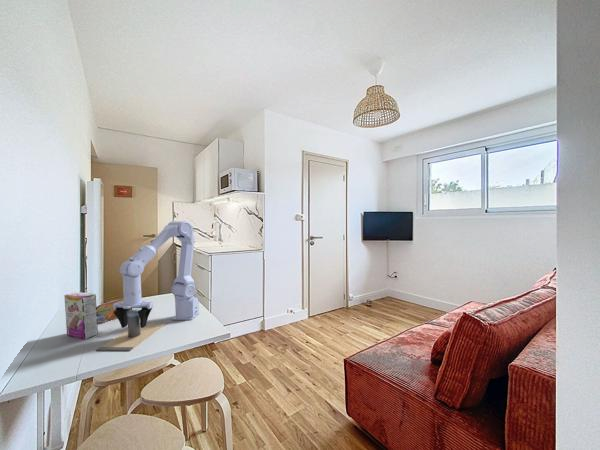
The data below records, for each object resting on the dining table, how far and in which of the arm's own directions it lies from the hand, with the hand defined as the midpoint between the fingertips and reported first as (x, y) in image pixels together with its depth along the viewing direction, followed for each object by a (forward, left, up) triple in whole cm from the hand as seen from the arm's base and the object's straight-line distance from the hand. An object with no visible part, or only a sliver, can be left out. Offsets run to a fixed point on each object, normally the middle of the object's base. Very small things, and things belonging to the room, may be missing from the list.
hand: (134, 326), depth 97 cm
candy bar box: (+22, -1, -4) cm, 22 cm away
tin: (+22, -17, -4) cm, 28 cm away
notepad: (0, 0, -4) cm, 4 cm away
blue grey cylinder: (0, 0, -3) cm, 3 cm away
